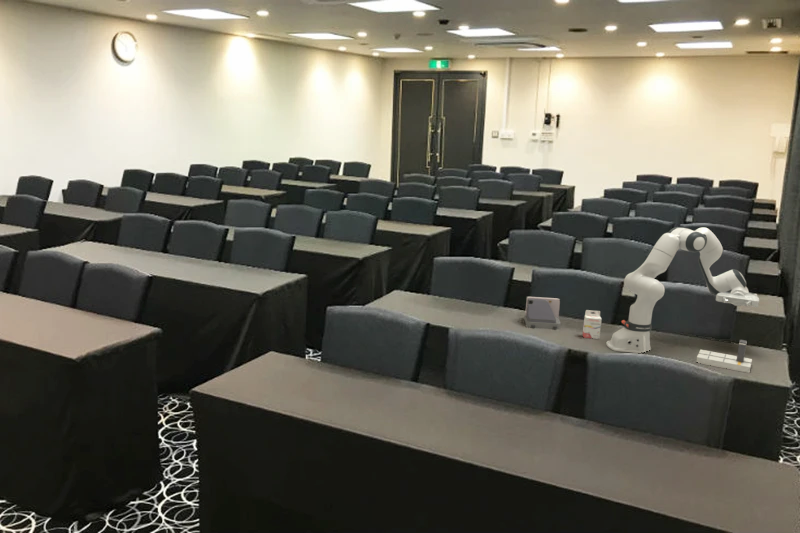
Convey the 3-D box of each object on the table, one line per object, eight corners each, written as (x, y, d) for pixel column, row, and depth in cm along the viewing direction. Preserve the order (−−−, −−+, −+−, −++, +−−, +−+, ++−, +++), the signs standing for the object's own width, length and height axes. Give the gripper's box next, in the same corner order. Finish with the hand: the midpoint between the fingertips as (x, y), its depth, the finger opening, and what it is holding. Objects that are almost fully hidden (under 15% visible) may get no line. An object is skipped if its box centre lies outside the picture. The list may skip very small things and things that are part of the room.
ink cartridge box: (583, 338, 376) (586, 312, 372) (582, 335, 380) (584, 309, 377) (599, 339, 375) (602, 313, 371) (598, 336, 380) (600, 310, 376)
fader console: (696, 362, 344) (697, 356, 343) (699, 354, 356) (700, 349, 355) (749, 373, 333) (750, 367, 332) (751, 364, 344) (752, 358, 343)
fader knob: (735, 364, 339) (739, 341, 337) (736, 362, 343) (739, 339, 340) (742, 366, 338) (746, 343, 335) (743, 363, 342) (746, 340, 339)
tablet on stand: (560, 321, 406) (563, 296, 402) (559, 331, 386) (562, 305, 383) (524, 317, 411) (526, 293, 407) (521, 327, 391) (523, 302, 388)
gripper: (717, 288, 367) (714, 293, 355) (760, 294, 357) (759, 300, 345) (716, 299, 368) (713, 305, 356) (758, 306, 358) (757, 312, 347)
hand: (736, 303), depth 351 cm, fingers open, 8 cm apart
